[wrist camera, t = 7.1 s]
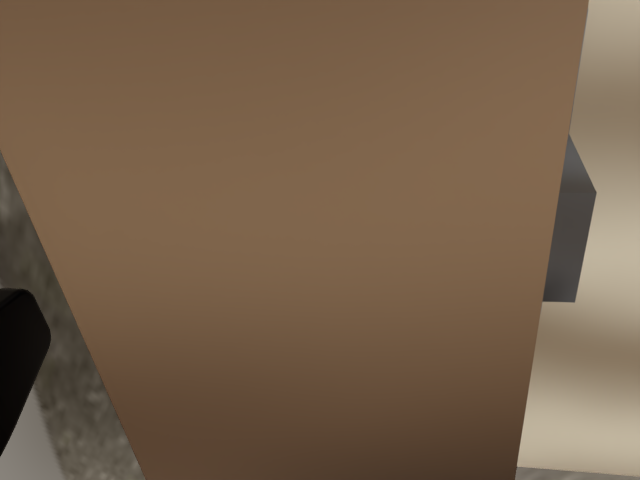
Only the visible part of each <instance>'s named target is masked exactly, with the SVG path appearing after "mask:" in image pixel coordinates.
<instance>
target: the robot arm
mask: <svg viewBox="0 0 640 480" xmlns="http://www.w3.org/2000/svg"><path fill="white" fill-rule="evenodd" d="M50 341H51V333H50V329H49V327H48V325H47V323H46V320H45V318H44V316H43V314H42V312H41V310H40V308H39V306H38V304H37V302H36V300H35V298H34V296H33V294H32V293H30V292H29V291H28V290H25V289H12V288H3V289H0V456H1V455H2V453H3V451H4V449H5V447H6V445H7V443H8V441H9V439H10V437H11V435H12V432H13V430H14V428H15V426H16V424H17V421H18V419H19V416H20V414H21V412H22V410H23V407H24V405H25V402H26V400H27V398H28V395H29V393H30V391H31V389H32V386H33V384H34V381H35V379H36V377H37V374H38V372H39V370H40V367H41V365H42V363H43V360H44V358H45V356H46V353H47V351H48V349H49V346H50Z"/></svg>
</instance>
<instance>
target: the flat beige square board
mask: <svg viewBox="0 0 640 480" xmlns="http://www.w3.org/2000/svg"><path fill="white" fill-rule="evenodd" d="M517 467H530V468H542V469H554V470H566V471H579V472H591V473H603V474H616V475H628V476H640V0H589V4H588V10H587V17H586V23H585V30H584V36H583V42H582V49H581V55H580V62H579V68H578V75H577V81H576V88H575V94H574V100H573V107H572V113H571V120H570V126H569V133H568V139H567V146H566V152H565V159H564V165H563V171H562V178H561V184H560V191H559V197H558V204H557V210H556V217H555V223H554V229H553V236H552V242H551V249H550V255H549V262H548V268H547V275H546V281H545V287H544V294H543V300H542V307H541V313H540V320H539V326H538V333H537V339H536V346H535V352H534V358H533V365H532V371H531V378H530V384H529V391H528V397H527V404H526V410H525V416H524V423H523V429H522V436H521V442H520V449H519V455H518V462H517Z"/></svg>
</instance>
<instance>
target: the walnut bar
mask: <svg viewBox="0 0 640 480" xmlns="http://www.w3.org/2000/svg"><path fill="white" fill-rule="evenodd" d="M588 4H589V0H0V151H1V153H2V155H3V158H4V160H5V162H6V164H7V167H8V169H9V171H10V173H11V176H12V178H13V180H14V182H15V185H16V187H17V189H18V192H19V194H20V196H21V198H22V201H23V203H24V205H25V207H26V210H27V212H28V214H29V216H30V219H31V221H32V223H33V225H34V228H35V230H36V232H37V234H38V237H39V239H40V241H41V244H42V246H43V248H44V250H45V253H46V255H47V257H48V259H49V262H50V264H51V266H52V268H53V271H54V273H55V275H56V277H57V280H58V282H59V284H60V287H61V289H62V291H63V293H64V296H65V298H66V300H67V302H68V305H69V307H70V309H71V311H72V314H73V316H74V318H75V320H76V323H77V325H78V327H79V329H80V332H81V334H82V336H83V339H84V341H85V343H86V345H87V348H88V350H89V352H90V354H91V357H92V359H93V361H94V363H95V366H96V368H97V370H98V372H99V375H100V377H101V379H102V381H103V384H104V386H105V388H106V391H107V393H108V395H109V397H110V400H111V402H112V404H113V406H114V409H115V411H116V413H117V415H118V418H119V420H120V422H121V424H122V427H123V429H124V431H125V433H126V436H127V438H128V440H129V443H130V445H131V447H132V449H133V452H134V454H135V456H136V458H137V461H138V463H139V465H140V467H141V470H142V472H143V474H144V476H145V479H146V480H515V475H516V468H517V462H518V455H519V449H520V442H521V436H522V429H523V423H524V416H525V410H526V404H527V397H528V391H529V384H530V378H531V371H532V365H533V358H534V352H535V346H536V339H537V333H538V326H539V320H540V313H541V307H542V300H543V294H544V287H545V281H546V275H547V268H548V262H549V255H550V249H551V242H552V236H553V229H554V223H555V217H556V210H557V204H558V197H559V191H560V184H561V178H562V171H563V165H564V159H565V152H566V146H567V139H568V133H569V126H570V120H571V113H572V107H573V100H574V94H575V88H576V81H577V75H578V68H579V62H580V55H581V49H582V42H583V36H584V30H585V23H586V17H587V10H588Z"/></svg>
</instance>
